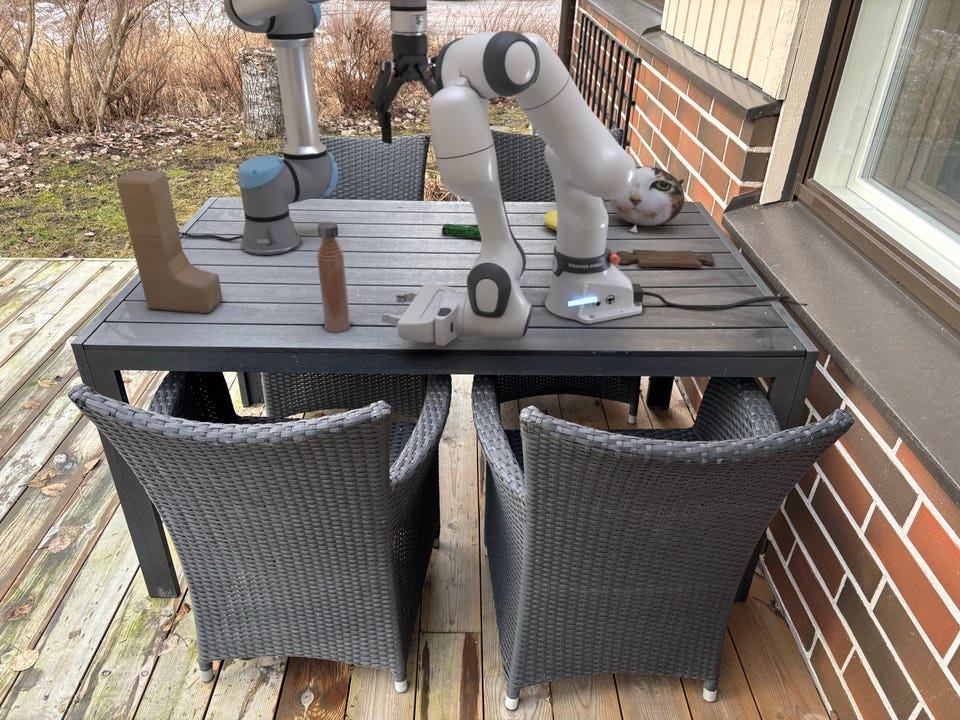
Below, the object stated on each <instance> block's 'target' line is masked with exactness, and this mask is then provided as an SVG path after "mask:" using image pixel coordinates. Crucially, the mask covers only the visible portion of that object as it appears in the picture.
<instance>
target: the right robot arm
mask: <svg viewBox="0 0 960 720" xmlns="http://www.w3.org/2000/svg"><path fill="white" fill-rule="evenodd" d="M436 56H437V60H436V66H435V75H436V84H435V86H436V89H437V91H438V92H437V93H436V94H435V95H434V96H433V97H432V96H431V99H430V100H429V104H428V114H429V115H428V116H429V129H430V137H431V143H432V144H431V145H432V149H433V153H434V158H435V162H436V166H437V170H438V172H439V175H440V176H439V177H440V178H441V180H442V182H443V184H444V186H445V189H446V190H447V191H448V192H450V193H451V194H453V195H454V196H456V197H459V198H461V199H466V200H467V201H468V202H469V203H470V205H471V206H472V209H473V212H474V216H475V220H476V225H478V228H479V231H480V235H481V239H482V240H481V245H480V250H479V254H478V256H477V258H476V260H475V261H474V263H473V264H472V266H471V268H470V270H469V271H468V274H467V278H466V288H467V293H461V291H459V290H455V288H453V287H452V286H449V285H444V284H439V283H438V284H437V283H432V282H431V283H429V282H428V283H425V284H423V285H422V286H421V288H420V289H419V291H416V290H414V291H409V292H398V293H397V295H396V296H395V297H396V303H397V304H398V303H400V304H405V303H407V302H408V303H409V302H410V304H409V305H408V306H407V308H406V309H405V311H404V312H403V314H398V315H395V314H393V312H392V311H384V312H383V313H382V315H381V321H382V322H383V323H386V324H390V325H392V326H394V327H396V328H397V329H396V330H397V336H398V337H399V338H400V339H401V340H403V341H408V342H415V343H423V344H430V343H434V342H435V343H434V344H435V345H436V346H440V347H445V346H447V345H448V344H449V343H451V342H452V341H453V340H456V339H458V338H460V337H467V338H468V337H479V338H482V339H484V340H490V341H491V340H492V341H505V342H507V341H508V342H511V341H512V342H514V341H519V340H521V339H523V338H524V337H525V336H526V334H527V331H528V329H529V325H530V323H531V319H532V314H533V306H532V304H531V303H530V302H529V301H528V300H527V299H526V297H525V295H524V293H523V291H522V289H521V286H520V283H519V280H520V278H522V276H523V274H524V272H525V271H526V266H527V258H526V253H525V251H524V249H523V248H522V245H521V244H520V242H519V241H518V239H516V237H515V236H514V233H513V231H512V228H511V225H510V224H511V223H510V221H509V218H508V214H507V209H506V205H505V201H504V197H503V193H502V190H501V185H500V176H499V169H498V167H499V166H498V159H497V153H496V147H495V143H494V138H493V133H492V129H491V125H490V122H489V109H490V105H491V100H490V99H497V98H501V97H502V98H503V97H504V98H510V97H514V98H515V100H516V102H517V104H518V105H519V107H520V108H521V110H522V112H523V114H524V115H525V116H526V118H527V119H528V121H529V122H530V124H531V125H532V127H533V129H534V130H535V132H536V133H537V135H538V137H539V138H540V139H541V140H542V141H543V142H544V143H545V147H544V151H543V152H544V154H543V155H544V160H545V164H546V165H547V167H548V169H549V172H550V176H551V180H552V185H553V190H554V197H555V203H556V209H557V215H558V220H557V231H556V238H555V245H554V246H553V253H552V261H551V269H552V270H551V271H552V277H551V281H550V286H549V290H548V293H547V296H546V298H545V300H544V306H545V308H546V309H547V310H548V311H549V312H550V313H552V314H554V315H556V316H558V317H562V318H565V319H571V320H575V321H577V322H580V323H582V324H584V325H585V324H586V325H591V324H596V323H601V322H606V321H611V320H615V319H620V318H625V317H631V316H635V315H640V314H642V312H643V304H642V303H643V300H644V296H649V297H654V298H657V299H659V300H660V301H661V302H662V304H664V305H666V306H669V307H672V308H679V309H691V310H692V309H695V310H722V309H729V308H734V307H738V306H741V305H744V304H748V303H754V302H759V301H766V300H790V299H789V296H790V295H764V296H759V297H753V298H752V297H751V298H747V299H743V300H740V301H736V302H733V303H728V304H720V305H719V304H718V305H700V304H699V305H696V304H678V303H673V302H670V301H667V300H666V299H665V298H664V297H663V296H662V295H660V294H658V293H655V292H651V291H645V290H643V288H642V285H641V284H640V283H632V282H631V280H630V278H629V277H628V275H626V274H625V273H624V272H622V271H621V270H620V269H619V268H618V267H616V266H617V265H618V264H619V262H620V258H619V257H618V256H617V254H616V253H613V251H612V250H611V249H609V248H608V247H607V238H608V229H609V215H608V210H607V209H606V207H605V205H604V202H603V199H604V200H609V199H617V198H620V197H622V196H623V195H625V194H626V193H627V192H628V191H629V190H630V188H631V187H632V185H633V183H634V181H635V177H636V167H637V164H636V162H635V160H634V158H633V157H632V156H631V155H630V154H629V153H628V152H627V151H626V150H625V149H624V148H623V147H622V146H621V145H620V144H619V143H618V141H617V140H616V139H615V137H614V136H613V135H612V133H611V132H610V131H609V129H608V128H607V127H606V125H605V124H604V123H603V122H602V121H601V120H600V118H598V116H597V115H596V114H595V112H594V111H593V110H592V109H591V108H590V106H589V105H588V103H587V102H586V100H585V99H584V97H583V95H582V94H581V92H580V90H579V88H578V87H577V85H576V82H575V81H574V80H573V78H572V76H571V74H570V73H569V70H568V69H567V67H566V66H565V64H564V63H563V61H562V60H561V58H560V56H559V55H558V54H557V53H556V52H555V50H554V49H553V47H552V46H551V45H550V44H549V42H548V41H546V39H544V37H542V35H540V34H538V33H536V32H523V33H520V32H516V31H513V30H500V31H486V32H485V31H484V32H478V33H476V34H472V35H469V36H466V37H458V38H455V39H452V40H451V41H448V42H447V43H446V44H445V45H444V46H443V47H441V48H440V50H439V52H438V54H437V55H436ZM439 88H440V90H439Z"/></svg>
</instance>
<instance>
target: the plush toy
mask: <svg viewBox="0 0 960 720" xmlns="http://www.w3.org/2000/svg"><path fill="white" fill-rule="evenodd" d="M684 181H685V179H684V178H682V179H680V180H678V179H677V178H676V177H675V176H674V175H673V174H671V173H670V172H668V171H666V170H664V169H662V168H659V167H656V166H650V165H649V166H647V165H645V166H642V165H641V166H636V177H635V181H634V183H633V185H632V187H631V188H630V190H629V191H628V192H627V193H626V194H625V195H623V196H622V197H620V198H617V199H608V200H609V203H610V206H611V208H612V210H613V211H614V212H615V213H616V214H617V216H618V217H619V218H621V219H623V220H624V221H625V222H628V223H630V224H633V227H632V228H630V229H629V230H628V231H629V232H632V233H639V232H638V229H637V226H641V227H657V226H661V225H664V224H667V223H668V222H670V221H672V220H674V219H675V218H676V217H677V216H678V215H679V214H680V213H681V211H682V210H683V206H684V204H685V192H684V188H683V186H682V184H684Z"/></svg>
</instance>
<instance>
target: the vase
mask: <svg viewBox="0 0 960 720" xmlns="http://www.w3.org/2000/svg"><path fill="white" fill-rule="evenodd" d="M557 220H558V215H557V208H556V209H552V210H549V211H548V212H547V213H545V214H544V216H543V222H544V225H545V226H546V227H548V228H550V229H551V230H554V231H556V232H557Z"/></svg>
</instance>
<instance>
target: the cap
mask: <svg viewBox="0 0 960 720" xmlns="http://www.w3.org/2000/svg"><path fill="white" fill-rule="evenodd" d="M317 232H318V237H319V238H321V239H322V238H325V239H330V238H335V239H336V237H338V236H339V227H338V223H337V222H335V221H323V222H320V223H318V224H317Z"/></svg>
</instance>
